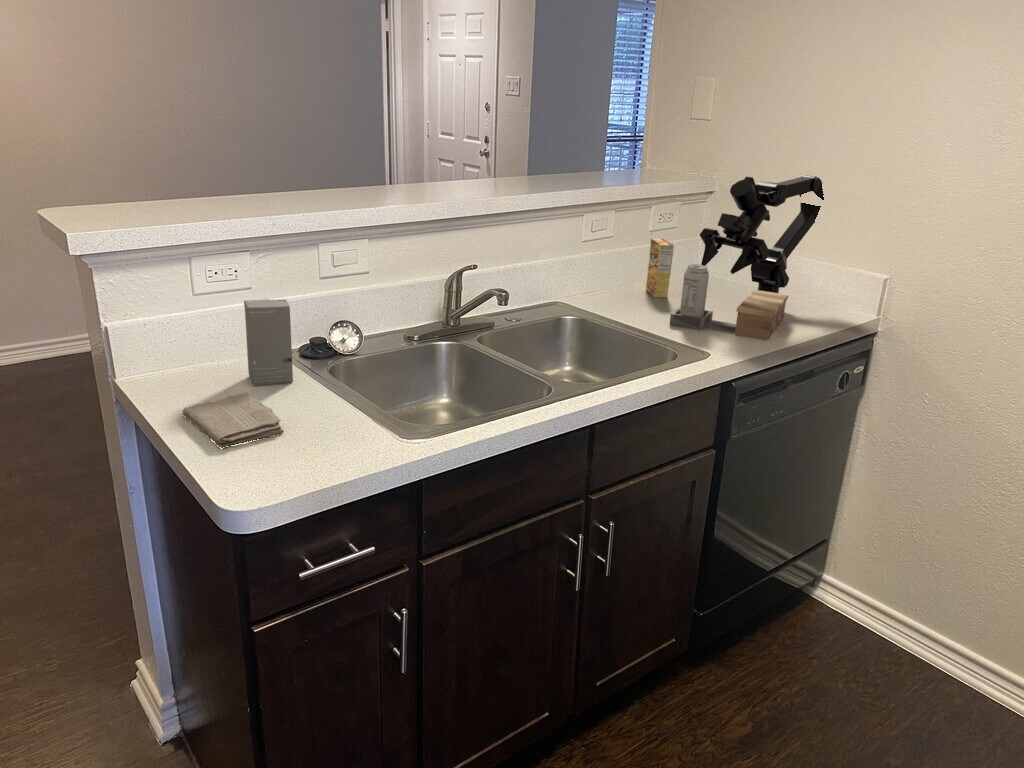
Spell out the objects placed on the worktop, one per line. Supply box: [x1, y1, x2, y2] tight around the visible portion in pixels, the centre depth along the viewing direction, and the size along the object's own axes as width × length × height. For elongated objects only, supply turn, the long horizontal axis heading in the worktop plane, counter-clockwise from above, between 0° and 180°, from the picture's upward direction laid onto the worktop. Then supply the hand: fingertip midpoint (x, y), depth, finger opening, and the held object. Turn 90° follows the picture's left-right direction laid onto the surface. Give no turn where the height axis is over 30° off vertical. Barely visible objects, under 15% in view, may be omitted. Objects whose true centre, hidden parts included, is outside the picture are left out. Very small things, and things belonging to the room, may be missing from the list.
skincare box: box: [243, 298, 294, 387], centre depth 157 cm, size 8×7×16 cm
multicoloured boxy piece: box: [668, 289, 789, 341], centre depth 206 cm, size 22×25×7 cm
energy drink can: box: [680, 263, 710, 318], centre depth 203 cm, size 6×6×15 cm
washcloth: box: [181, 392, 285, 449], centre depth 139 cm, size 12×18×3 cm, turn 42°
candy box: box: [645, 238, 675, 299], centre depth 230 cm, size 9×4×15 cm, turn 9°
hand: (716, 269), depth 205 cm, fingers open, 9 cm apart
